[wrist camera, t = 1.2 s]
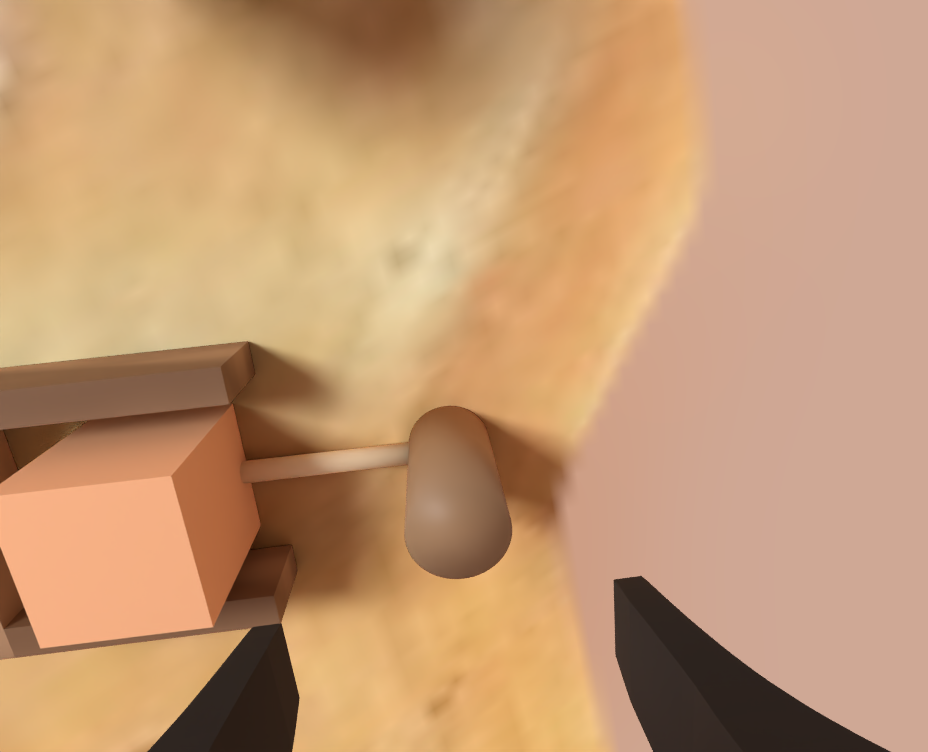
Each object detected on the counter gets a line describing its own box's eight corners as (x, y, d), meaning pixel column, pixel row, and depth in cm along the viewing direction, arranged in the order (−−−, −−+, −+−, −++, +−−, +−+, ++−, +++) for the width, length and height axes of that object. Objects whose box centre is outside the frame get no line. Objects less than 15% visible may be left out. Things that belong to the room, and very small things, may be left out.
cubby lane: (297, 570, 23) (280, 624, 21) (33, 603, 23) (-21, 662, 20) (248, 341, 21) (220, 366, 18) (-56, 374, 20) (-134, 405, 17)
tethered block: (494, 497, 23) (517, 601, 17) (128, 540, 23) (29, 661, 17) (483, 376, 22) (505, 445, 16) (90, 419, 21) (-33, 507, 15)
